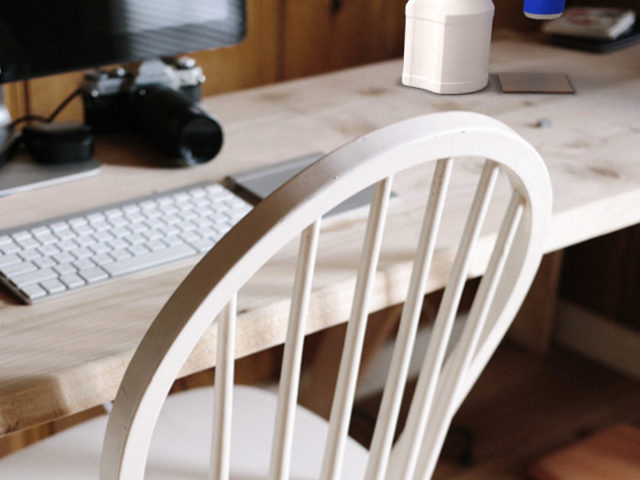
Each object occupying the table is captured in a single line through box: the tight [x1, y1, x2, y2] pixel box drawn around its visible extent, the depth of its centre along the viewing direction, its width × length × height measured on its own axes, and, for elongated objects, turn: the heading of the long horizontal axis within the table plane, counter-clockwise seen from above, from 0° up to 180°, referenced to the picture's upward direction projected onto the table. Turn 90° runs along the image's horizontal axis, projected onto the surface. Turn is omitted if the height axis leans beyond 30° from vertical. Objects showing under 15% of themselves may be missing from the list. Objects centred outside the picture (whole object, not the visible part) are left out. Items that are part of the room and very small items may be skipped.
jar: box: [401, 0, 495, 95], centre depth 136 cm, size 12×10×15 cm
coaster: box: [496, 72, 574, 94], centre depth 139 cm, size 9×9×1 cm
